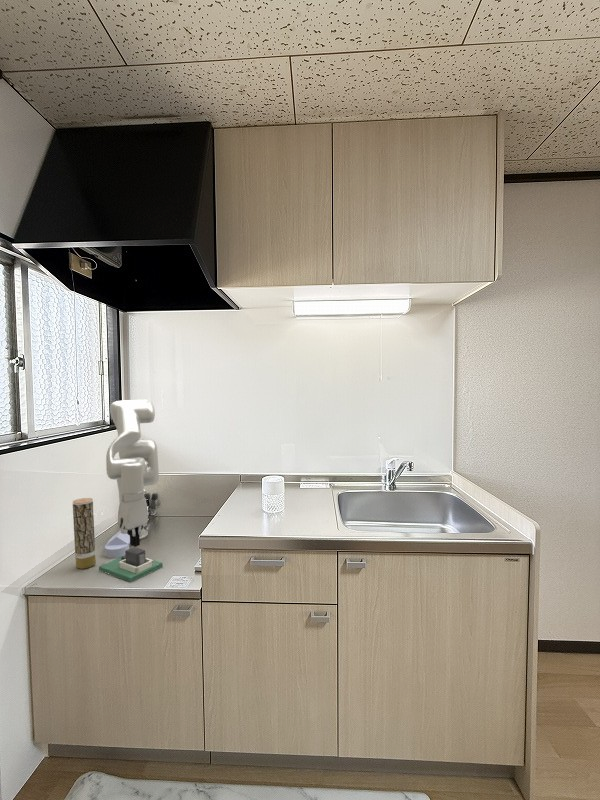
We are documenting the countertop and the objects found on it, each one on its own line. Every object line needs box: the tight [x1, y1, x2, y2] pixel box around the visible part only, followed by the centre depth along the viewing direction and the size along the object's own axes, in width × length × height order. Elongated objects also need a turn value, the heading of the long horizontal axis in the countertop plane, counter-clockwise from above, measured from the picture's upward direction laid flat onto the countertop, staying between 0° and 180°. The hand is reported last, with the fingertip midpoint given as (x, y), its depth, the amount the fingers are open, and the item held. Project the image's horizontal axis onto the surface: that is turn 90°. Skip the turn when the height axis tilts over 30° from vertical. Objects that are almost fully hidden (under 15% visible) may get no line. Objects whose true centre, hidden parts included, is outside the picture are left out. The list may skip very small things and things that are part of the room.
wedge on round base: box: [104, 530, 130, 559], centre depth 184 cm, size 9×7×13 cm
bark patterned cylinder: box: [72, 497, 97, 570], centre depth 170 cm, size 7×7×25 cm
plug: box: [125, 546, 147, 567], centre depth 166 cm, size 7×4×6 cm, turn 58°
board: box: [98, 555, 163, 583], centre depth 168 cm, size 18×14×4 cm
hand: (135, 545), depth 166 cm, fingers closed
